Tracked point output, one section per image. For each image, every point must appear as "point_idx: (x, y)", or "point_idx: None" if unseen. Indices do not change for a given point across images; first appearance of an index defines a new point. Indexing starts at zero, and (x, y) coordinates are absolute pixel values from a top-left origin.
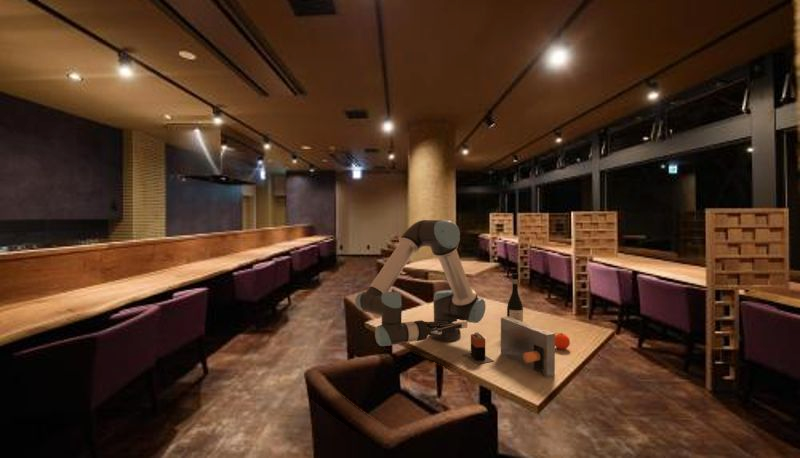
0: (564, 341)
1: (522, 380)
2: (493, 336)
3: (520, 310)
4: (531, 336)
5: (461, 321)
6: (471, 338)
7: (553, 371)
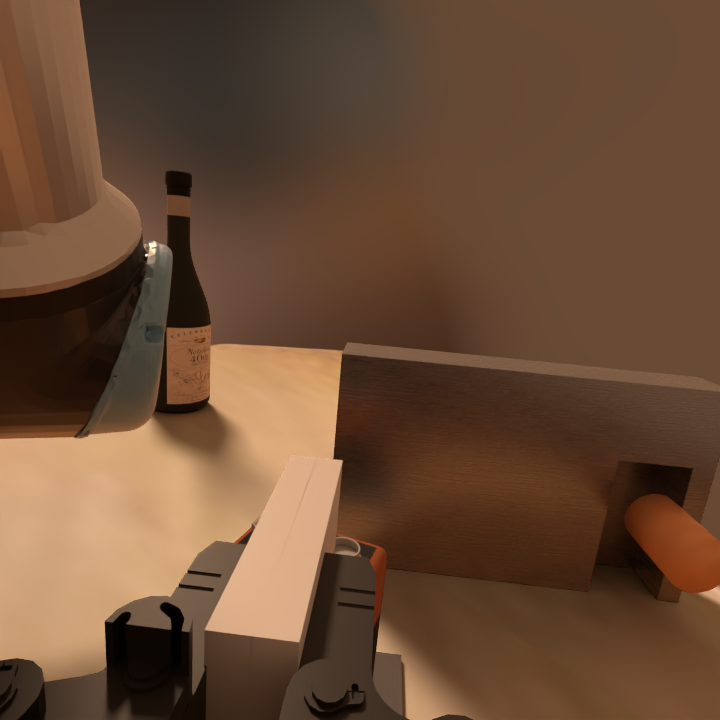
0: None
1: None
2: (142, 462)
3: (208, 325)
4: (608, 422)
5: (306, 502)
6: None
7: None
